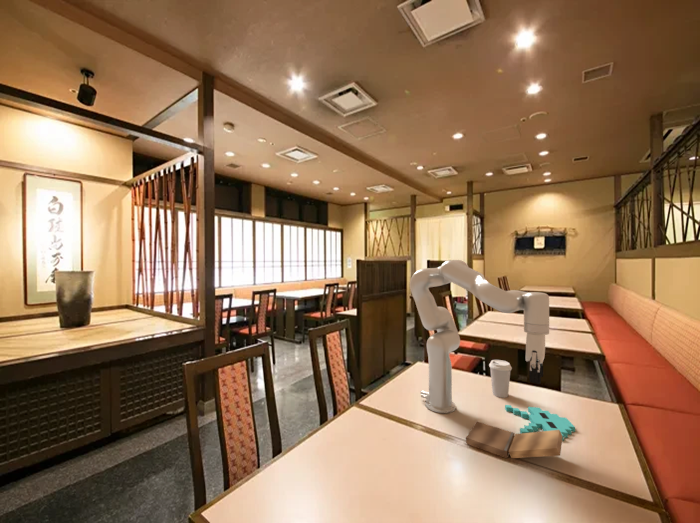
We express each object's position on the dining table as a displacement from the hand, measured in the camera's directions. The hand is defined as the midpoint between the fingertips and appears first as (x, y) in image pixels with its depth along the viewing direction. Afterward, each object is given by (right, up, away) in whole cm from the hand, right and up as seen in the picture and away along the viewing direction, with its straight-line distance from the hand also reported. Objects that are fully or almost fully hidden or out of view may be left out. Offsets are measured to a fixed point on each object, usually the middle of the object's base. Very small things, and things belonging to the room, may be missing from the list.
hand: (536, 378), depth 104 cm
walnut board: (-16, -22, 0) cm, 27 cm away
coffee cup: (+6, -22, +36) cm, 43 cm away
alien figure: (+9, -22, +11) cm, 27 cm away
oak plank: (-5, -19, -8) cm, 21 cm away
